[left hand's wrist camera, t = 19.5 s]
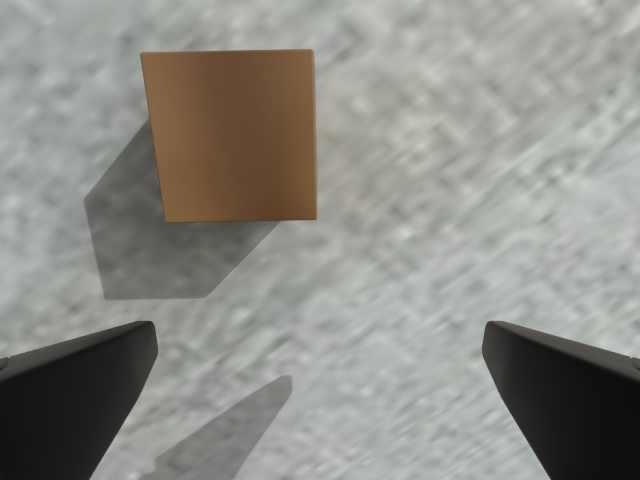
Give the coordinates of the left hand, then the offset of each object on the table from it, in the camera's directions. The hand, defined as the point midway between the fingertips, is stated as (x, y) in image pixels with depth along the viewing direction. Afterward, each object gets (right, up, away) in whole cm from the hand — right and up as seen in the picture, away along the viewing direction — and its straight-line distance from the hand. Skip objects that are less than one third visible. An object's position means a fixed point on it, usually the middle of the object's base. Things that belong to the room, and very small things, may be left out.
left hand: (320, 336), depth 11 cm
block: (-2, +7, +4) cm, 8 cm away
